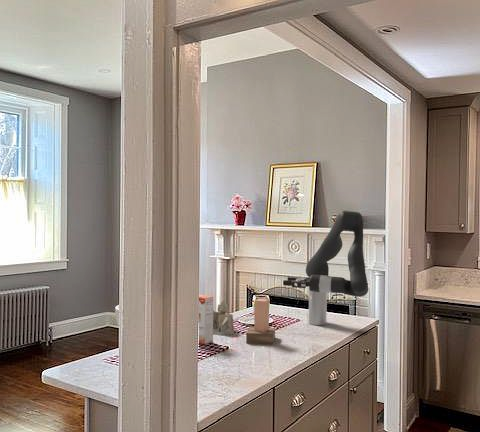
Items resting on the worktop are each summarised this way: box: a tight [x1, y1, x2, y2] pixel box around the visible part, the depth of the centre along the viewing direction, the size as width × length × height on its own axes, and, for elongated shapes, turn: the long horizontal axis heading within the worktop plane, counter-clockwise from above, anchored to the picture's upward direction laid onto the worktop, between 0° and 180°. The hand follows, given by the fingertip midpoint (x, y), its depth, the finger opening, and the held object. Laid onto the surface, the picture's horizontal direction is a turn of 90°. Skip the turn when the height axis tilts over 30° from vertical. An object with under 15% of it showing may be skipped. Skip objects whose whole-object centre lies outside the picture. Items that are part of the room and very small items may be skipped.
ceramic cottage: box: [213, 299, 235, 336], centre depth 242 cm, size 16×16×15 cm
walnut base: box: [245, 326, 276, 346], centre depth 226 cm, size 12×12×5 cm
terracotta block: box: [253, 298, 270, 332], centre depth 226 cm, size 5×5×14 cm
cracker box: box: [198, 294, 214, 345], centre depth 224 cm, size 14×6×21 cm, turn 51°
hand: (285, 281), depth 222 cm, fingers open, 8 cm apart
